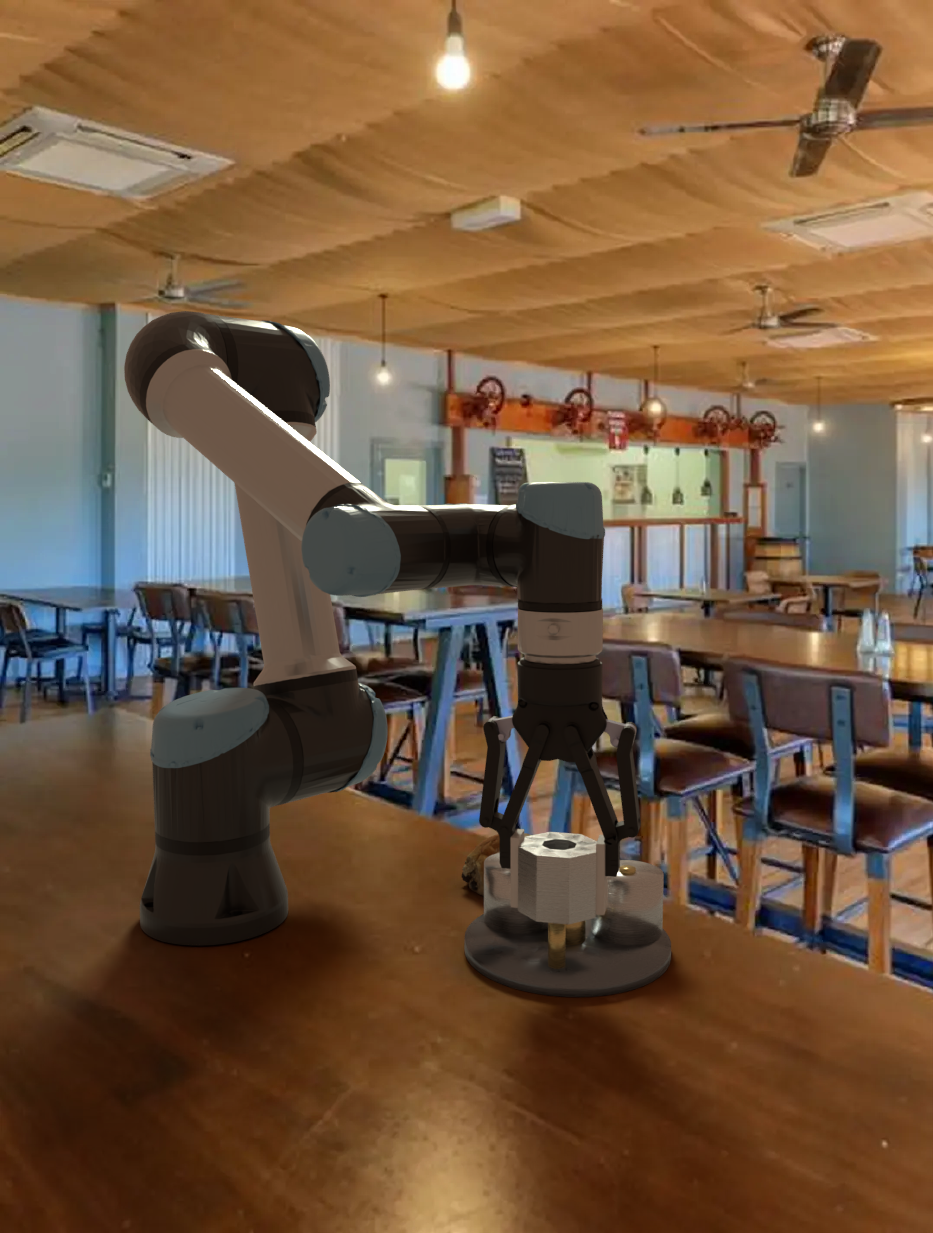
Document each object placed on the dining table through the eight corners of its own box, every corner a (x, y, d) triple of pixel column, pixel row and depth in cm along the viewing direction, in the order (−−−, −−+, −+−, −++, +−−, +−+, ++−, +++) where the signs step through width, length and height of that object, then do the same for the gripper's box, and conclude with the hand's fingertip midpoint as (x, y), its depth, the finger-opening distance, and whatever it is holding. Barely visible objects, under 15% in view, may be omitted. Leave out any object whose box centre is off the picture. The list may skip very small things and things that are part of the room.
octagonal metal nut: (527, 891, 103) (528, 830, 102) (601, 897, 101) (602, 835, 100) (513, 919, 96) (513, 853, 95) (592, 926, 94) (593, 859, 94)
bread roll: (525, 937, 117) (557, 876, 115) (444, 889, 119) (474, 828, 118) (545, 904, 127) (575, 847, 125) (469, 860, 129) (497, 803, 127)
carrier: (441, 982, 98) (440, 902, 97) (489, 902, 118) (489, 834, 117) (664, 1008, 93) (666, 924, 93) (676, 919, 113) (678, 849, 112)
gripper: (440, 659, 95) (442, 911, 97) (671, 666, 90) (667, 931, 92) (461, 647, 102) (463, 882, 104) (676, 653, 97) (672, 899, 100)
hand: (559, 905), depth 98 cm, fingers closed on octagonal metal nut, 7 cm apart
